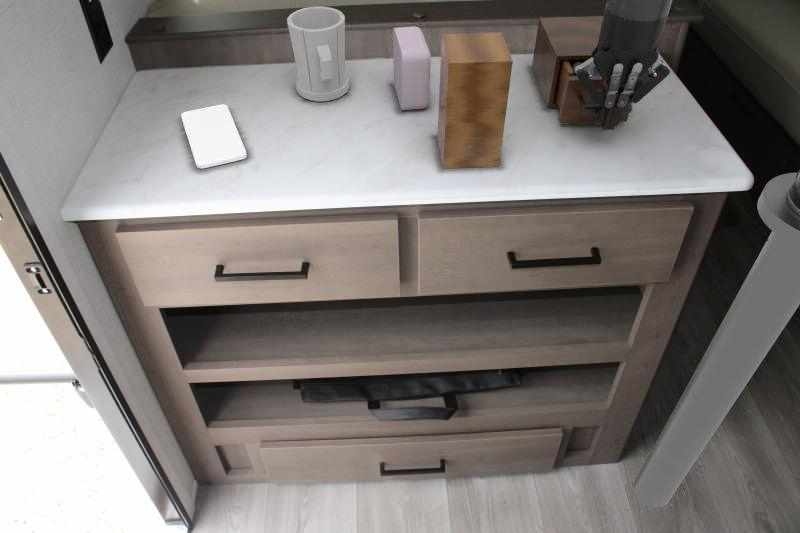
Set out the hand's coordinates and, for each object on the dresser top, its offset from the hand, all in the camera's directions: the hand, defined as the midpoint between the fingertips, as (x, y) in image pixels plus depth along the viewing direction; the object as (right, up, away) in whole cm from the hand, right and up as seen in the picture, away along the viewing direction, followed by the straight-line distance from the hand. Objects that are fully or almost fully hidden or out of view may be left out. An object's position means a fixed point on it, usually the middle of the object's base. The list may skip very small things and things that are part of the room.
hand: (606, 126), depth 90 cm
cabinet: (-1, +10, +15) cm, 18 cm away
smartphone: (-58, -1, +5) cm, 58 cm away
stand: (-20, -3, +2) cm, 20 cm away
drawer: (0, +5, +9) cm, 10 cm away
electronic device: (-27, +8, +13) cm, 31 cm away
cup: (-42, +9, +15) cm, 45 cm away
